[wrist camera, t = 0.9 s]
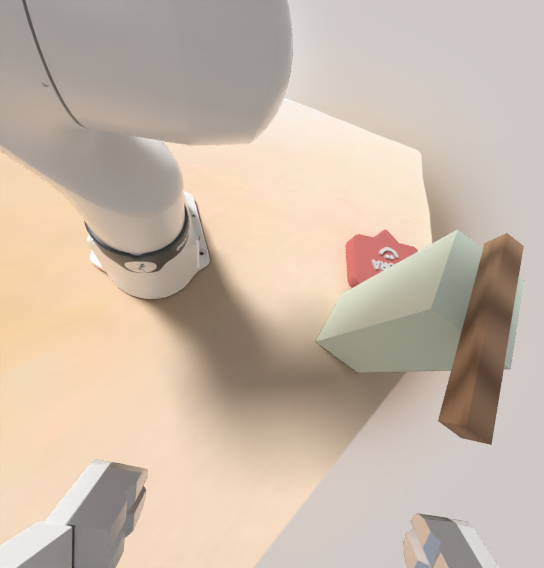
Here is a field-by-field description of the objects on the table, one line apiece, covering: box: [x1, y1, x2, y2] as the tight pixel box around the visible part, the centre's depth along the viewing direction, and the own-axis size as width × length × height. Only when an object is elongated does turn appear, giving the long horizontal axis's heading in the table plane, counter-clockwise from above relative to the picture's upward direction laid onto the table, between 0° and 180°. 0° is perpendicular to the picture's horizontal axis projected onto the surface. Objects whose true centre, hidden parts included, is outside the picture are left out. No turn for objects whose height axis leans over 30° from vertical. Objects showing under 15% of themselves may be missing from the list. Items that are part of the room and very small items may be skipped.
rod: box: [438, 233, 524, 444], centre depth 25 cm, size 22×2×2 cm, turn 146°
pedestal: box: [315, 230, 524, 373], centre depth 39 cm, size 12×10×26 cm
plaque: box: [346, 230, 418, 288], centre depth 58 cm, size 18×4×15 cm
